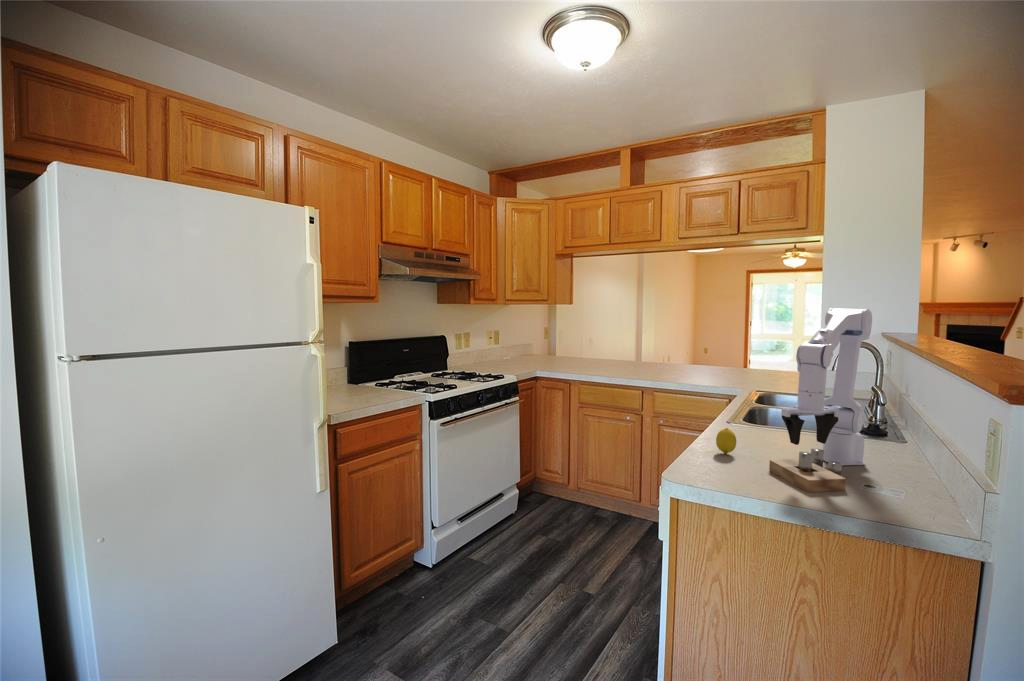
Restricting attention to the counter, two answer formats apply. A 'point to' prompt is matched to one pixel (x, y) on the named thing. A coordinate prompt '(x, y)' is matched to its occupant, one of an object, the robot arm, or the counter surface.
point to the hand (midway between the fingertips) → (807, 443)
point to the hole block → (808, 476)
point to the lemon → (726, 440)
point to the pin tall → (805, 461)
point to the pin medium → (818, 456)
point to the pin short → (835, 467)
